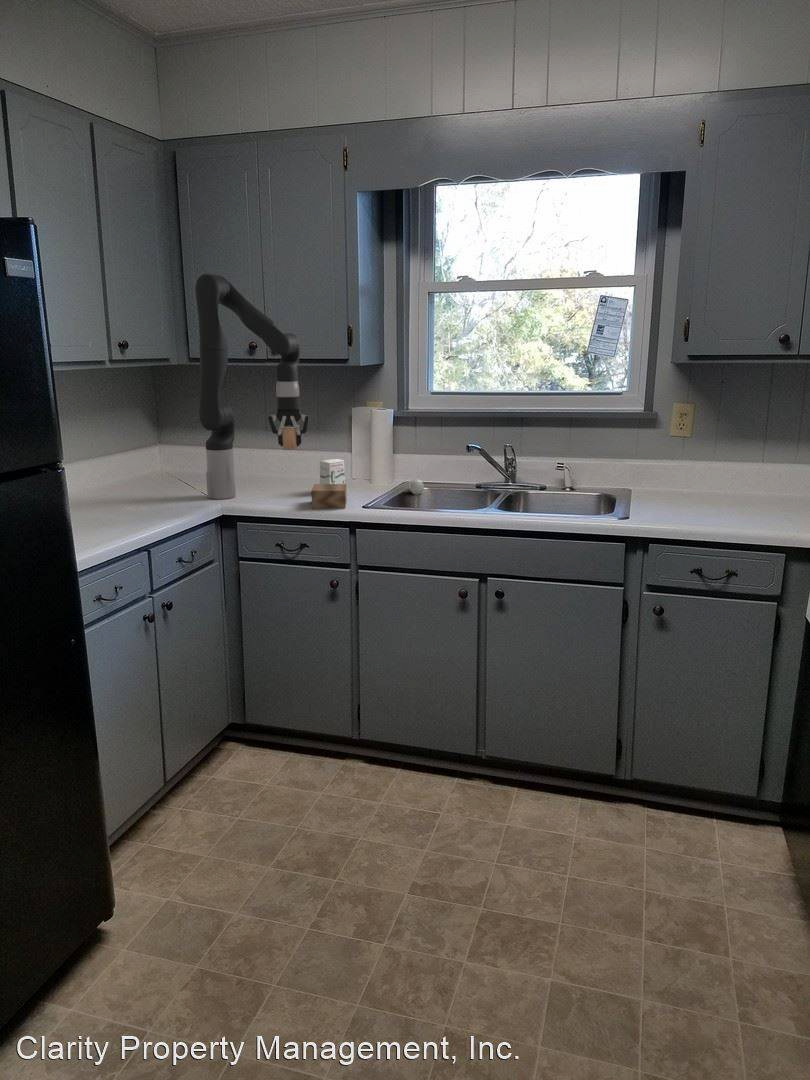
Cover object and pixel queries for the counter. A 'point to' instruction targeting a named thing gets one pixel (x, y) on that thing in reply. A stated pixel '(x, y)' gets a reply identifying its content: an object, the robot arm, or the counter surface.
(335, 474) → the ink box
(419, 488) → the off-white ball
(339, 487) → the walnut pedestal
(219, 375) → the robot arm
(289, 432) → the terracotta canister
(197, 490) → the counter surface
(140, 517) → the counter surface
